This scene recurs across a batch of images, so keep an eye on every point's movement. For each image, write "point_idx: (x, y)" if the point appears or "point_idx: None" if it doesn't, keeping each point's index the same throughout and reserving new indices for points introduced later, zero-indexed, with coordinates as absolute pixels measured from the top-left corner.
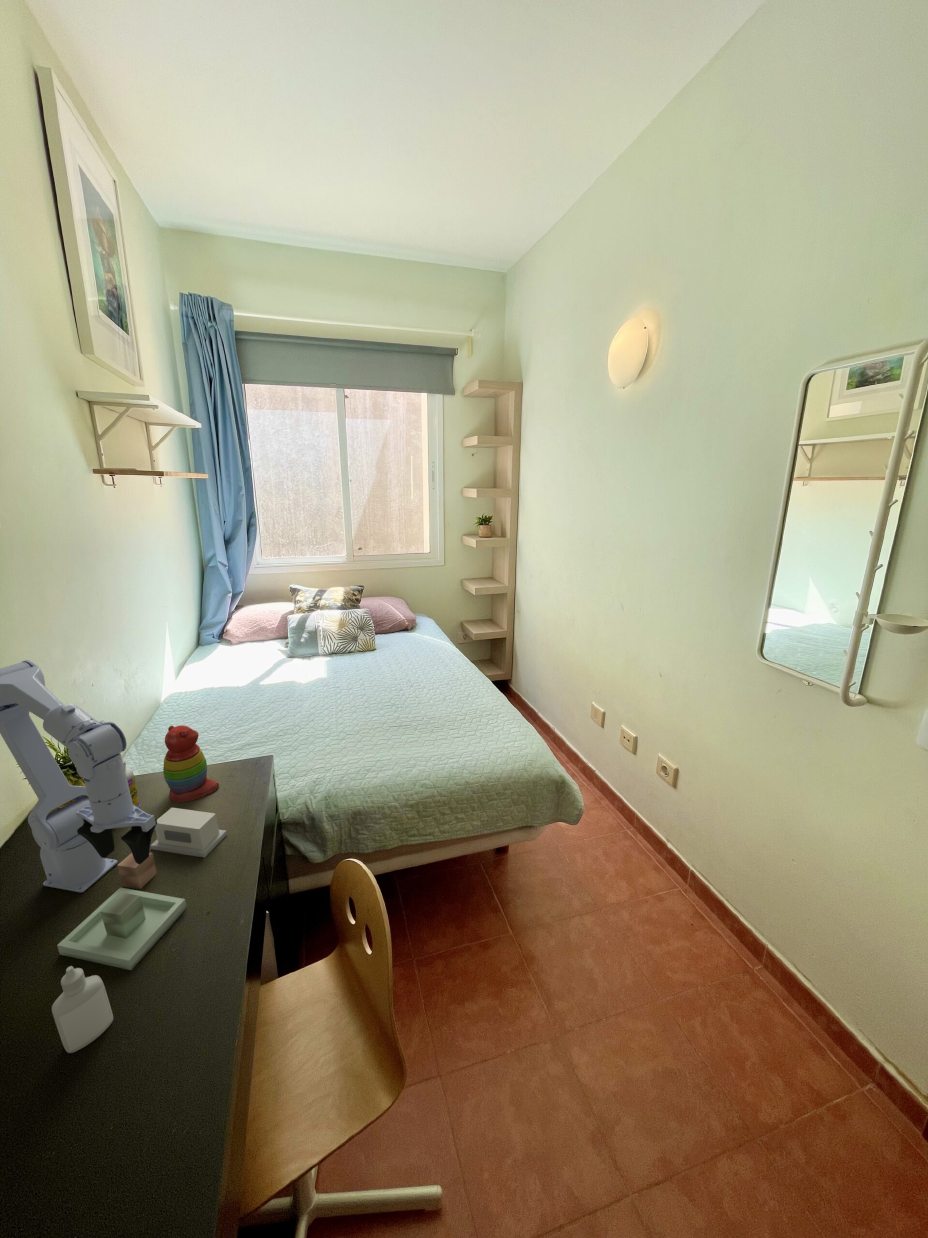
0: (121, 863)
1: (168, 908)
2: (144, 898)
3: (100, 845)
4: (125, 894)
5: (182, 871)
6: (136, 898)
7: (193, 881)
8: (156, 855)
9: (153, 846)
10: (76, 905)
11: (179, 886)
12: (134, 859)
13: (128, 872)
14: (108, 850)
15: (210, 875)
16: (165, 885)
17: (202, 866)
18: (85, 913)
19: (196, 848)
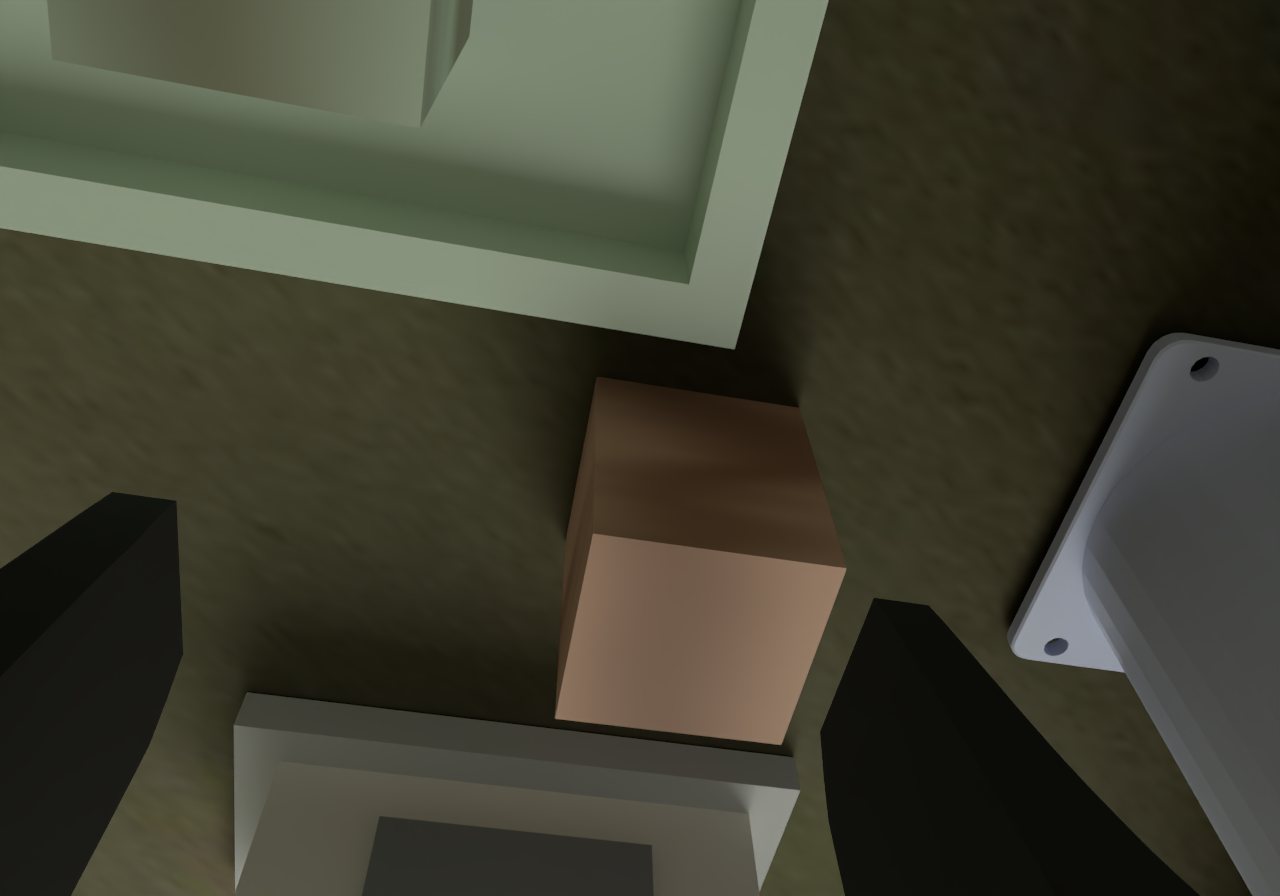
0: (812, 591)
1: (55, 129)
2: (362, 220)
3: (961, 822)
4: (308, 85)
5: (337, 565)
6: (64, 8)
7: (135, 467)
8: None
9: (769, 781)
10: (1143, 188)
11: (227, 413)
12: (124, 555)
13: (702, 501)
14: (858, 728)
15: (27, 529)
16: (378, 423)
17: (192, 614)
18: (988, 87)
19: (349, 770)
